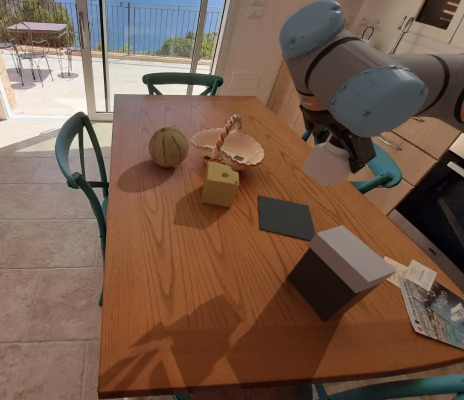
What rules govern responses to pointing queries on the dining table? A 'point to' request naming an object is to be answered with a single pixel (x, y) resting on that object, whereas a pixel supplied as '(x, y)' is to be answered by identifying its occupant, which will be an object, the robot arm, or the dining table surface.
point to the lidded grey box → (338, 272)
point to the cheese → (219, 184)
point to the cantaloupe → (168, 147)
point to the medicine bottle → (328, 162)
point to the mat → (285, 218)
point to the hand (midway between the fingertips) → (342, 158)
